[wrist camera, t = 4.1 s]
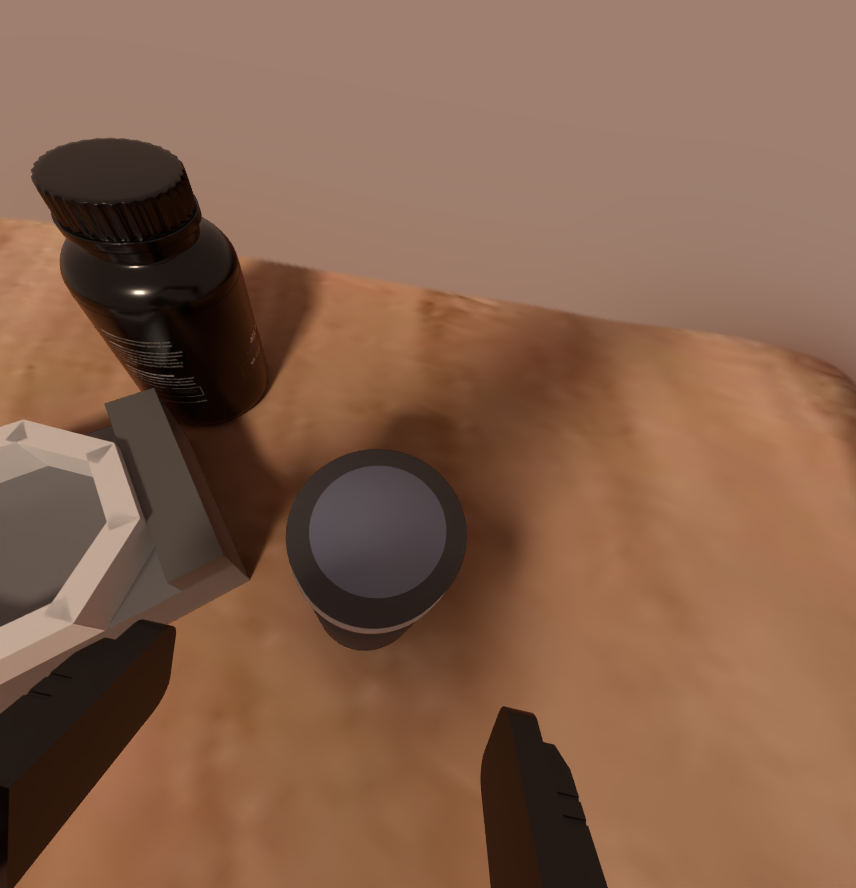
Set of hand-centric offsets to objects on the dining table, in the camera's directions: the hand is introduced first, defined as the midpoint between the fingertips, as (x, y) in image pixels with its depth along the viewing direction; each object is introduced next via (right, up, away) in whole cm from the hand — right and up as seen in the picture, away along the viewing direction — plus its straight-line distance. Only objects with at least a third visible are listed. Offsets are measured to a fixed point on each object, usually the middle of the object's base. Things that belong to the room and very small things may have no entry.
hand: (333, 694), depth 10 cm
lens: (-1, -1, +10) cm, 10 cm away
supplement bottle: (-11, +10, +15) cm, 21 cm away
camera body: (-14, 0, +9) cm, 16 cm away
